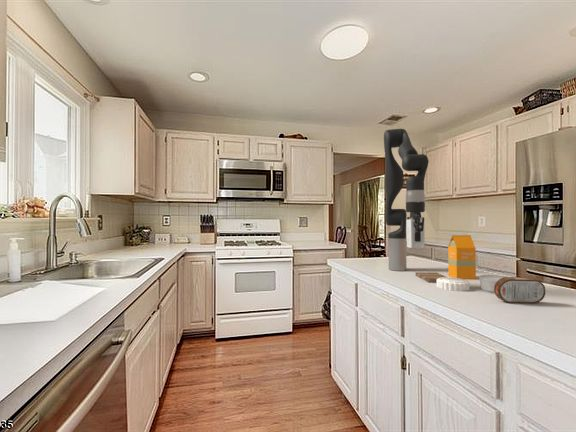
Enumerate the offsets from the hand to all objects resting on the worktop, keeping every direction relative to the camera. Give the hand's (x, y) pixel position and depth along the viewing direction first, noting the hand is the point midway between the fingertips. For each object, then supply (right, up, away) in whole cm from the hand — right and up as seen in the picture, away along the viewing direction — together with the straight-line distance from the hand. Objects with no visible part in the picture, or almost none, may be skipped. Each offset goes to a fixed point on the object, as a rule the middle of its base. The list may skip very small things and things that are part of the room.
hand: (415, 240), depth 129 cm
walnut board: (+13, -19, +11) cm, 25 cm away
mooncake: (+13, -19, -6) cm, 24 cm away
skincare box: (0, -3, 0) cm, 3 cm away
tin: (+23, -19, -28) cm, 41 cm away
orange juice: (+28, -19, +14) cm, 37 cm away
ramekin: (+26, -19, -12) cm, 35 cm away
